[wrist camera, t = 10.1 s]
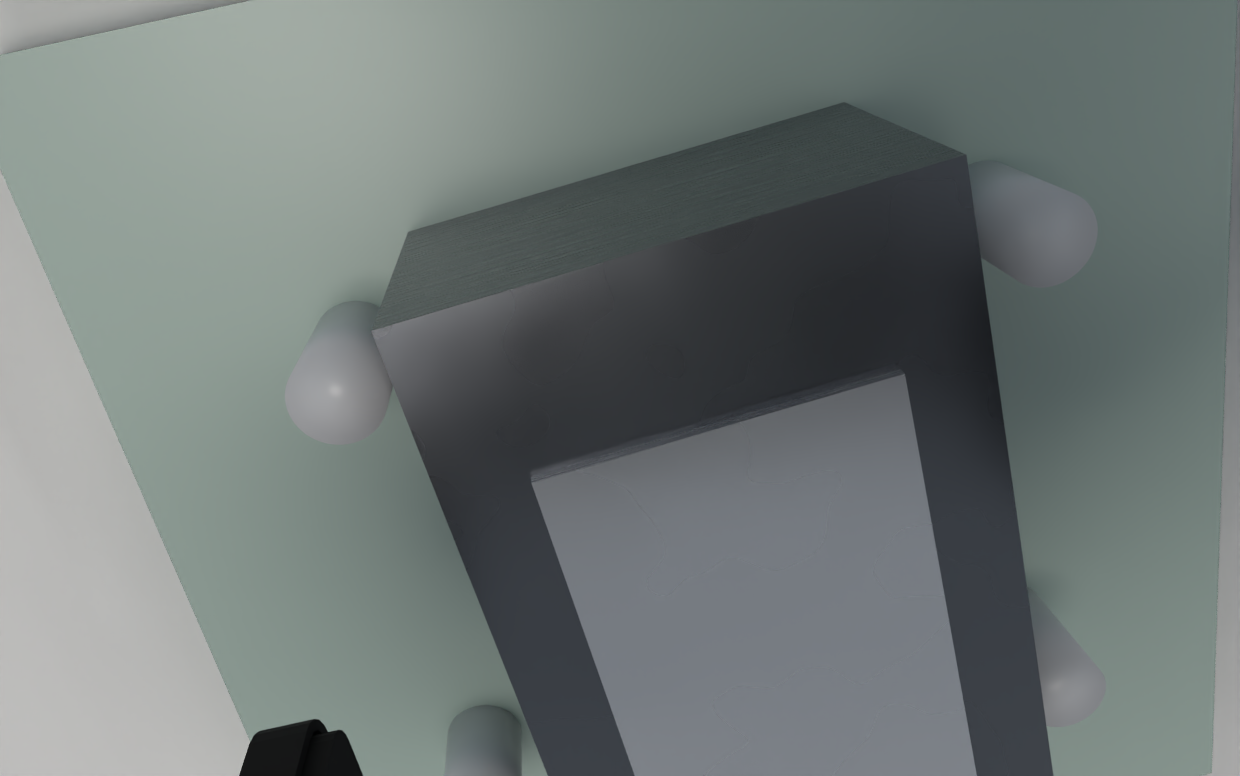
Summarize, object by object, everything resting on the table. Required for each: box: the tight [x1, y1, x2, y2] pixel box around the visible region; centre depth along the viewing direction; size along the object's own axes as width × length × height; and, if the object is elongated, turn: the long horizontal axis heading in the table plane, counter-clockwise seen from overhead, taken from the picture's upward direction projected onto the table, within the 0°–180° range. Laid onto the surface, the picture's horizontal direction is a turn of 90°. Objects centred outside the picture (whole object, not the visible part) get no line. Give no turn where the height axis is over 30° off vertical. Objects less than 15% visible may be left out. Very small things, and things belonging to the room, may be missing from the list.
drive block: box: [371, 102, 1053, 776], centre depth 14 cm, size 6×10×4 cm, turn 16°
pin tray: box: [0, 0, 1237, 776], centre depth 15 cm, size 16×16×3 cm
